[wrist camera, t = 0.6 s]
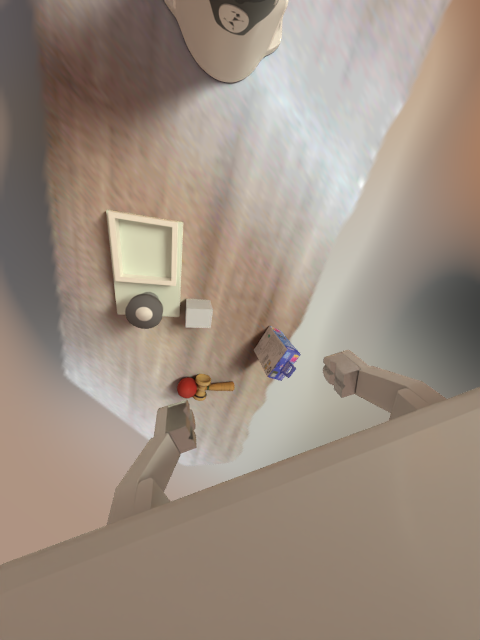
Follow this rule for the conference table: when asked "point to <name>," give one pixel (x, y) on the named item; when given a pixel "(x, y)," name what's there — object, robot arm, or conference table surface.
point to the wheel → (144, 311)
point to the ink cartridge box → (276, 354)
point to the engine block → (198, 313)
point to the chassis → (146, 259)
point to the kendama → (200, 387)
